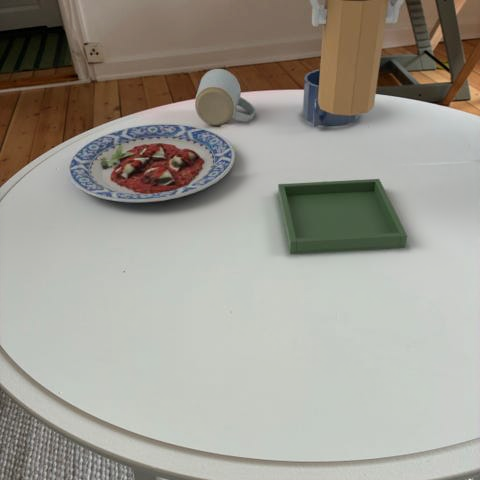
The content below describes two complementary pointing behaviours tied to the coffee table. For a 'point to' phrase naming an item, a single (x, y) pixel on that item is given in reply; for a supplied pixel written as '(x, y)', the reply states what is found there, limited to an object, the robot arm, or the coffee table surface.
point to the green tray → (339, 217)
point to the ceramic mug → (221, 98)
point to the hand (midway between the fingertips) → (353, 23)
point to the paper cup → (351, 55)
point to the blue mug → (312, 107)
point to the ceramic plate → (151, 163)
